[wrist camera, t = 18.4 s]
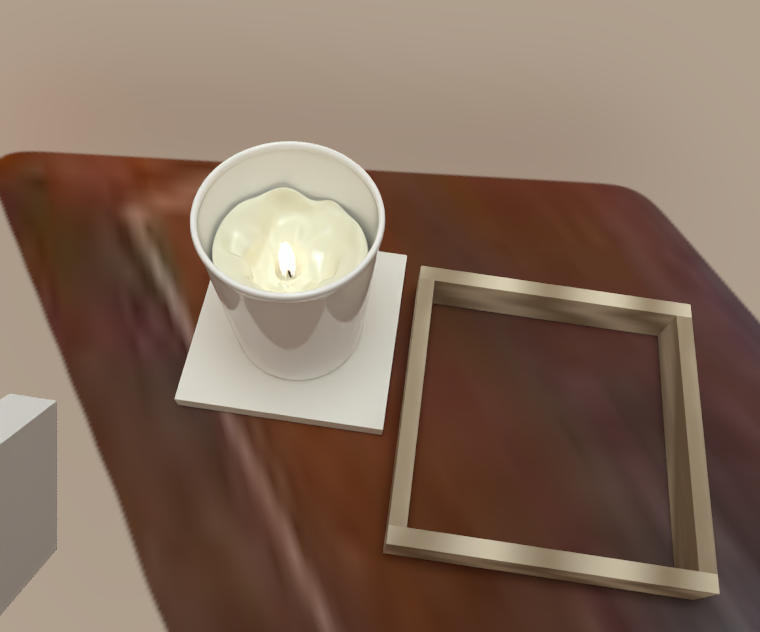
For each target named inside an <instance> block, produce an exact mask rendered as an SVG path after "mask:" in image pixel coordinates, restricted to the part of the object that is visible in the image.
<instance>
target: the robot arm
mask: <svg viewBox="0 0 760 632" xmlns="http://www.w3.org/2000/svg"><path fill="white" fill-rule="evenodd" d="M56 550H57V401H54V400H48V399H41V398H34V397H28V396H21V395H15V394H8V395H7V396H5V397H4V398H2V399H1V400H0V615H1V614H2V613H3V612H4V610H5V609H6V608H7V607H8V606H9V604H10V603H11V602H12V601H13V600H14V599H15V598H16V596H17V595H18V594H19V593H20V592H21V591H22V589H23V588H24V587H25V586H26V585H27V584H28V582H29V581H30V580H31V579H32V577H34V575H35V574H36V573H37V572H38V571H39V569H40V568H41V567H42V566H43V565H44V564H45V562H46V561H47V560H48V559H49V558H50V556H51V555H52V554H53V553H54V552H55V551H56Z"/></svg>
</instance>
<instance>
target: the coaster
mask: <svg viewBox="0 0 760 632" xmlns="http://www.w3.org/2000/svg"><path fill="white" fill-rule="evenodd" d="M406 260H407V255H400V254H393V253H386V252H378V257H377V262H376V267H375V272H374V277H373V282H372V287H371V292H370V297H369V302H368V307H367V312H366V317H365V322H364V326H363V330H362V334H361V337H360V340H359V342H358V345H357V347H356V348H355V350H354V352H353V353H352V354H351V356H350V357H349V358H348V359H347V360H346V361H345V362H344V363H343V364H342V365H341V366H339V367H338V368H337V369H335V370H334V371H332V372H330V373H328V374H326V375H323V376H321V377H318V378H314V379H308V380H287V379H282V378H278V377H275V376H272V375H270V374H268V373H266V372H264V371H262V370H261V369H259V368H258V367H257V366H255V365H254V364H253V363H252V362H251V361H250V360H249V359H248V358H247V356H246V355H245V354H244V352H243V351H242V349H241V347H240V345H239V343H238V341H237V339H236V337H235V335H234V333H233V330H232V328H231V326H230V323H229V321H228V319H227V317H226V314H225V312H224V310H223V307H222V305H221V303H220V300H219V298H218V296H217V293H216V291H215V289H214V286H213V284H212V282H211V280H210V283H209V287H208V290H207V293H206V296H205V300H204V303H203V306H202V310H201V313H200V316H199V320H198V323H197V326H196V329H195V333H194V336H193V339H192V343H191V346H190V349H189V353H188V356H187V359H186V363H185V366H184V369H183V372H182V376H181V379H180V382H179V386H178V389H177V392H176V396H175V401H176V402H177V404H178V405H183V406H189V407H196V408H203V409H210V410H216V411H223V412H230V413H236V414H243V415H250V416H257V417H263V418H270V419H277V420H284V421H290V422H297V423H304V424H311V425H317V426H324V427H331V428H337V429H344V430H351V431H358V432H364V433H371V434H378V435H382V432H383V425H384V418H385V411H386V403H387V396H388V389H389V382H390V375H391V367H392V360H393V353H394V346H395V339H396V331H397V324H398V317H399V310H400V303H401V296H402V288H403V281H404V274H405V267H406Z"/></svg>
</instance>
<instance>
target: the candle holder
mask: <svg viewBox="0 0 760 632" xmlns="http://www.w3.org/2000/svg"><path fill="white" fill-rule="evenodd" d="M384 228H385V211H384V205H383V201H382V198H381V195H380V193H379V190H378V188H377V187H376V185H375V183H374V182H373V180H372V179H371V177H370V176H369V175H368V174H367V173H366V172H365V171H364V170H363V169H362V168H361V167H360V166H359V165H358V164H357V163H355V162H354V161H353V160H351V159H350V158H348V157H347V156H345V155H343V154H341V153H339V152H337V151H335V150H333V149H330V148H327V147H324V146H321V145H317V144H312V143H305V142H296V141H294V142H293V141H283V142H273V143H267V144H262V145H259V146H255V147H252V148H249V149H246V150H244V151H242V152H240V153H237V154H235V155H234V156H232V157H230V158H229V159H227V160H225V161H224V162H223V163H221V164H220V165H219V166H218V167H216V168H215V169H214V170H213V171H212V172H211V173H210V174H209V175H208V177H207V178H206V179H205V180H204V182H203V183H202V185H201V186H200V188H199V190H198V192H197V194H196V196H195V198H194V201H193V204H192V209H191V215H190V230H191V236H192V240H193V243H194V246H195V249H196V251H197V253H198V255H199V257H200V259H201V260H202V262H203V263H204V266H205V268H206V270H207V273H208V275H209V277H210V280H211V282H212V284H213V286H214V289H215V291H216V293H217V296H218V298H219V300H220V303H221V305H222V307H223V310H224V312H225V314H226V317H227V319H228V321H229V323H230V326H231V328H232V330H233V333H234V335H235V337H236V339H237V341H238V343H239V345H240V347H241V349H242V351H243V352H244V354H245V355H246V356H247V358H248V359H249V360H250V361H251V362H252V363H253V364H254V365H255V366H257V367H258V368H259V369H261V370H262V371H264V372H266V373H268V374H270V375H272V376H275V377H278V378H282V379H287V380H308V379H314V378H318V377H321V376H323V375H326V374H328V373H330V372H332V371H334V370H335V369H337V368H338V367H339V366H341V365H342V364H343V363H344V362H345V361H346V360H347V359H348V358H349V357H350V356H351V354H352V353H353V352H354V350H355V348H356V347H357V345H358V342H359V340H360V337H361V334H362V330H363V326H364V322H365V317H366V312H367V307H368V302H369V297H370V292H371V287H372V282H373V277H374V272H375V267H376V262H377V257H378V252H379V247H380V244H381V241H382V238H383V234H384Z"/></svg>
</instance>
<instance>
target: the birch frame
mask: <svg viewBox="0 0 760 632" xmlns="http://www.w3.org/2000/svg"><path fill="white" fill-rule="evenodd" d="M432 303H433V304H440V305H447V306H454V307H461V308H467V309H474V310H481V311H488V312H495V313H502V314H509V315H516V316H522V317H529V318H536V319H543V320H550V321H557V322H564V323H571V324H578V325H584V326H591V327H598V328H605V329H612V330H619V331H626V332H633V333H640V334H646V335H653V336H657V337H658V351H659V365H660V379H661V393H662V406H663V420H664V434H665V448H666V462H667V476H668V490H669V504H670V518H671V532H672V546H673V560H674V568H672V567H666V566H659V565H652V564H646V563H639V562H633V561H626V560H619V559H613V558H606V557H599V556H593V555H586V554H579V553H573V552H566V551H559V550H553V549H546V548H540V547H533V546H526V545H520V544H513V543H506V542H500V541H493V540H486V539H480V538H473V537H466V536H460V535H453V534H447V533H440V532H433V531H427V530H420V529H413V528H407V521H408V512H409V503H410V494H411V485H412V477H413V468H414V459H415V450H416V441H417V432H418V423H419V415H420V406H421V397H422V388H423V379H424V370H425V362H426V353H427V344H428V335H429V326H430V317H431V308H432ZM383 553H386V554H393V555H399V556H406V557H413V558H419V559H426V560H432V561H439V562H446V563H452V564H459V565H465V566H472V567H479V568H485V569H492V570H499V571H505V572H512V573H518V574H525V575H532V576H538V577H545V578H551V579H558V580H565V581H571V582H578V583H584V584H591V585H598V586H604V587H611V588H618V589H624V590H631V591H637V592H644V593H651V594H657V595H664V596H670V597H677V598H684V599H690V600H696V599H700V598H704V597H709V596H713V595H717V594H720V593H719V583H718V573H717V563H716V553H715V543H714V533H713V524H712V514H711V504H710V494H709V484H708V474H707V464H706V454H705V444H704V434H703V425H702V415H701V405H700V395H699V385H698V375H697V365H696V355H695V345H694V335H693V326H692V316H691V306H690V304H683V303H676V302H669V301H662V300H655V299H648V298H641V297H635V296H628V295H621V294H614V293H607V292H600V291H593V290H586V289H579V288H572V287H565V286H558V285H551V284H544V283H538V282H531V281H524V280H517V279H510V278H503V277H496V276H489V275H482V274H475V273H468V272H461V271H454V270H447V269H441V268H434V267H427V266H421V269H420V274H419V279H418V284H417V289H416V297H415V305H414V313H413V321H412V329H411V336H410V344H409V352H408V360H407V368H406V376H405V384H404V391H403V399H402V407H401V415H400V423H399V431H398V439H397V446H396V454H395V462H394V470H393V478H392V486H391V494H390V501H389V509H388V517H387V525H386V533H385V541H384V549H383Z"/></svg>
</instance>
